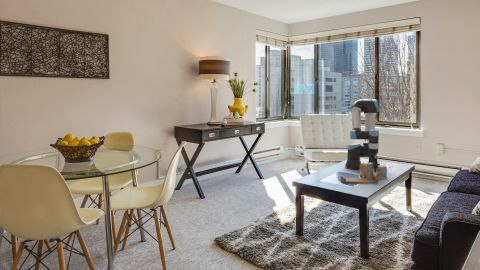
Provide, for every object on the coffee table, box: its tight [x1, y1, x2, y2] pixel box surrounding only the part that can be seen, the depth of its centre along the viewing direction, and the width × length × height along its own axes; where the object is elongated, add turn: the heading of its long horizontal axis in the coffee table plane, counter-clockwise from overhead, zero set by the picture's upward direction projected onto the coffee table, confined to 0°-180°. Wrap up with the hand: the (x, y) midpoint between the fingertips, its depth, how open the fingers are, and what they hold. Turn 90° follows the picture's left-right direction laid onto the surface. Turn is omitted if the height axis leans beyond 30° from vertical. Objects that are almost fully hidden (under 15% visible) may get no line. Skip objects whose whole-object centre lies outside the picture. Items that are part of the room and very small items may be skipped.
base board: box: [340, 174, 379, 185], centre depth 271 cm, size 12×26×4 cm, turn 85°
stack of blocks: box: [359, 162, 388, 179], centre depth 284 cm, size 21×6×12 cm, turn 102°
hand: (372, 174), depth 285 cm, fingers open, 11 cm apart
